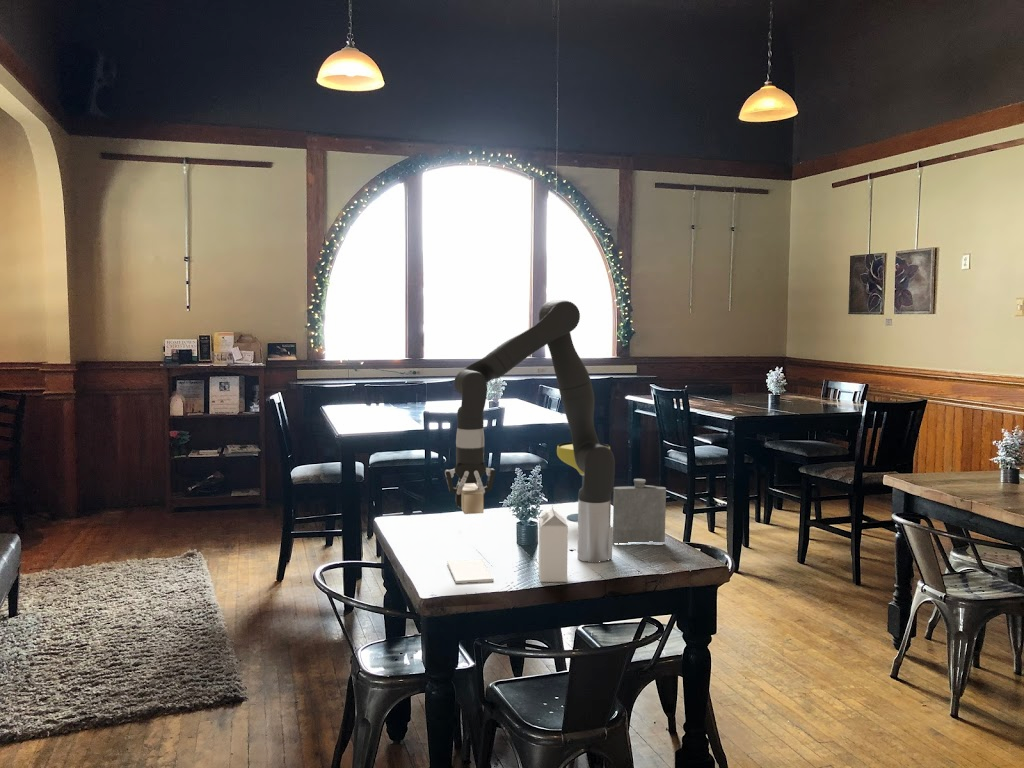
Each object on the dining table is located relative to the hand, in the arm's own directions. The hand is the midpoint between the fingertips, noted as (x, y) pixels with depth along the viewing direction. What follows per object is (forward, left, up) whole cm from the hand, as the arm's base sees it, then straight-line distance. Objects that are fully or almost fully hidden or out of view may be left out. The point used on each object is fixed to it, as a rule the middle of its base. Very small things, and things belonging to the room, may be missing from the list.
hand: (470, 506), depth 229 cm
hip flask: (-55, -18, -18) cm, 61 cm away
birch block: (0, -7, +2) cm, 8 cm away
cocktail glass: (-47, -51, -18) cm, 72 cm away
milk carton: (-21, +9, -18) cm, 29 cm away
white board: (0, 0, -18) cm, 18 cm away
